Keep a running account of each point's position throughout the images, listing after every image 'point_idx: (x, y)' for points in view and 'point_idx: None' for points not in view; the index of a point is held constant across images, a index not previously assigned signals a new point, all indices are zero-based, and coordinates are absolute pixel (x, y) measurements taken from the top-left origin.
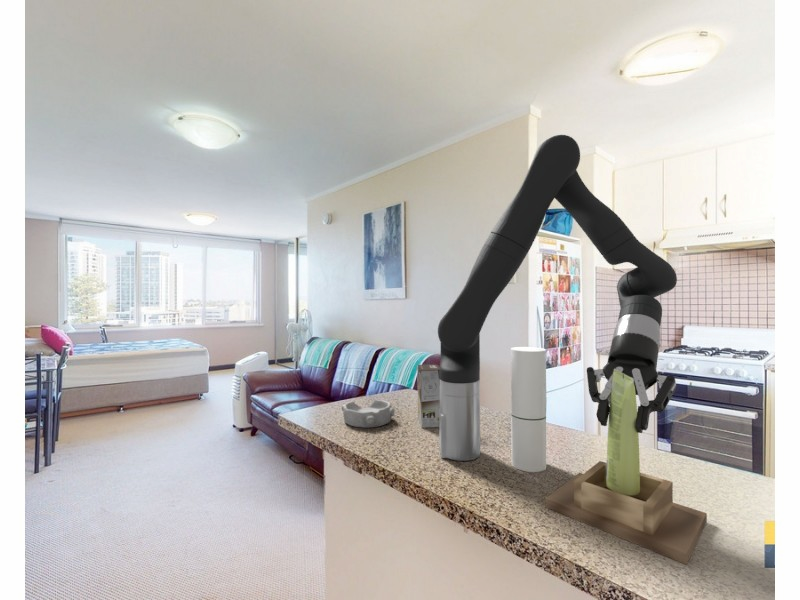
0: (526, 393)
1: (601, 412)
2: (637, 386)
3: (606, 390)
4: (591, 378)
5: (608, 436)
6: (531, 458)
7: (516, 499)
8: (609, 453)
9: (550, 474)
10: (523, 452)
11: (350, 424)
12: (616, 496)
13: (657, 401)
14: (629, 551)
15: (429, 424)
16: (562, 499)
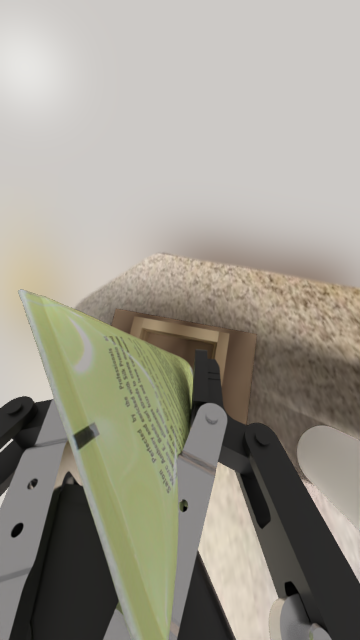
0: None
1: (205, 362)
2: (50, 474)
3: (205, 453)
4: (320, 562)
5: (189, 376)
6: (325, 437)
7: (289, 333)
8: (186, 365)
9: (282, 437)
10: (345, 437)
11: None
12: (173, 323)
13: (18, 403)
14: (163, 302)
15: None
16: (239, 344)
